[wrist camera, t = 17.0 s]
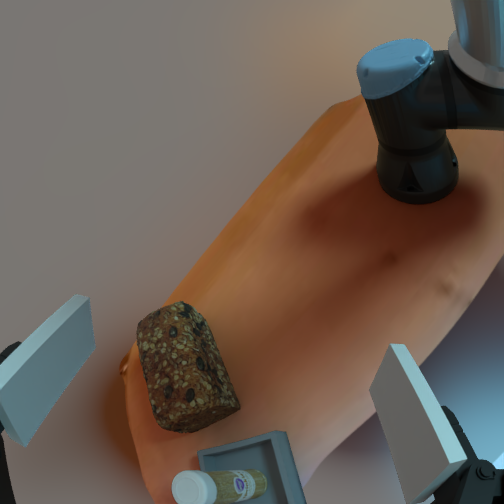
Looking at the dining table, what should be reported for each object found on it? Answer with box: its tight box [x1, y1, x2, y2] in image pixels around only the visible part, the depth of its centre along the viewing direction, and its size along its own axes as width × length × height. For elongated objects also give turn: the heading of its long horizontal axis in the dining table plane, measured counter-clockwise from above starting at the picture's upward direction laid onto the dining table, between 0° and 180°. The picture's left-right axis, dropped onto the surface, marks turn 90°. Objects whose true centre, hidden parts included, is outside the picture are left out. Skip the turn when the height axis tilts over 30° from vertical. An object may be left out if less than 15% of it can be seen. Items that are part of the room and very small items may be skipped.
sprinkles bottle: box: [172, 469, 268, 504], centre depth 27 cm, size 5×5×14 cm
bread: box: [137, 301, 240, 433], centre depth 43 cm, size 19×11×10 cm, turn 23°
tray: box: [197, 431, 307, 504], centre depth 31 cm, size 12×12×4 cm
